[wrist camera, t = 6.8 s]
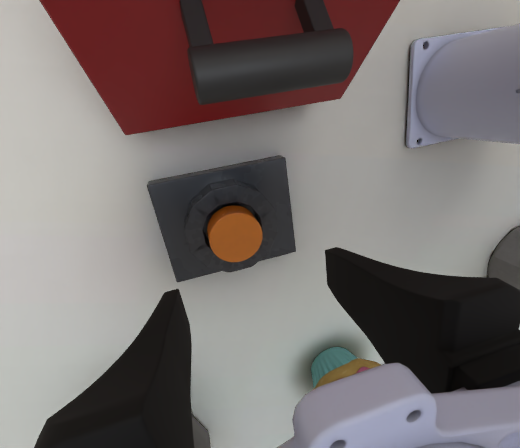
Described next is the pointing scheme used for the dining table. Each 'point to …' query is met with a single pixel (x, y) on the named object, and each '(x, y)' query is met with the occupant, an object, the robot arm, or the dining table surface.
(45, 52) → the dining table surface
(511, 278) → the coffeepot
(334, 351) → the cupcake
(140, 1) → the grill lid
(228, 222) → the power button
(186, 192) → the switch box
